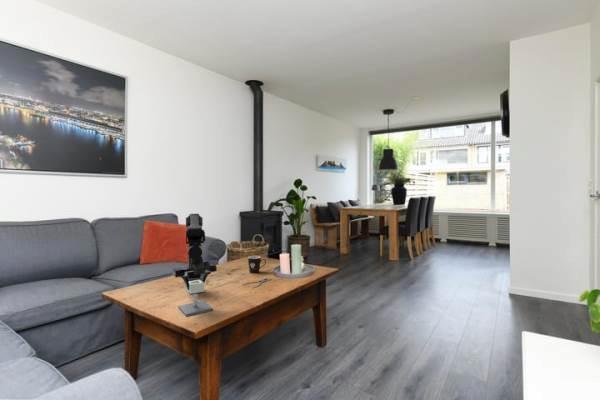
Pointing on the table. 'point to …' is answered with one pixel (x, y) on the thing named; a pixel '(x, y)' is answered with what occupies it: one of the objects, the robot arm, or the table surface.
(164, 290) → the table surface
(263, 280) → the pliers
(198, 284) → the hollow square sleeve
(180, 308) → the post stand
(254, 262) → the coffee mug
